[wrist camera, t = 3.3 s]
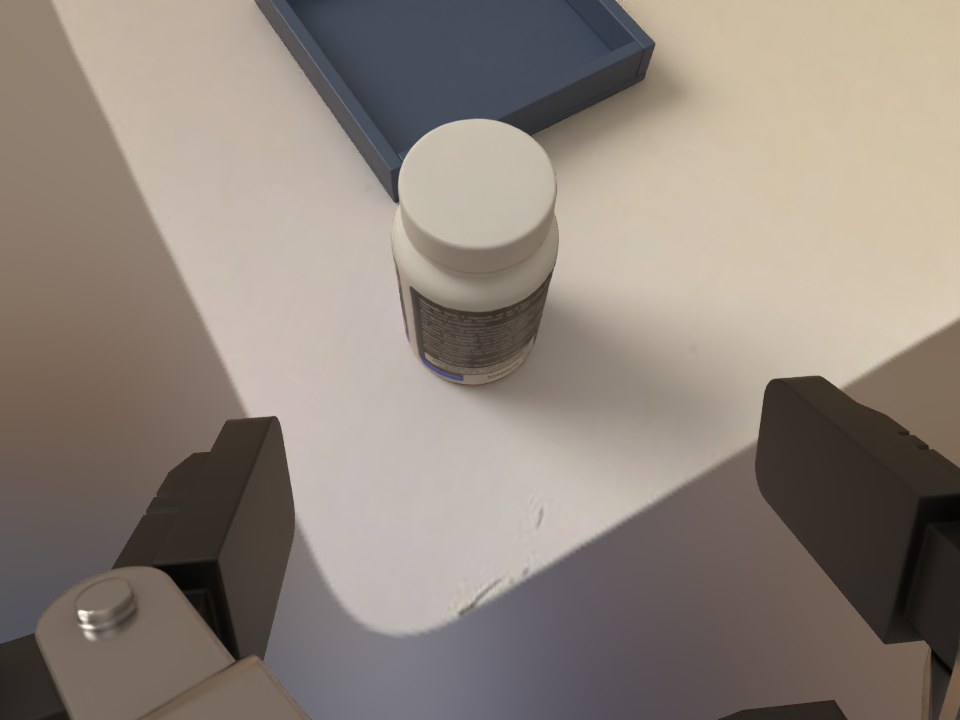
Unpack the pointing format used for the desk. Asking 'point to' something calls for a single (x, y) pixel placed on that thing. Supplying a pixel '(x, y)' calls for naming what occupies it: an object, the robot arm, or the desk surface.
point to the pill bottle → (474, 247)
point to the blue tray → (456, 64)
